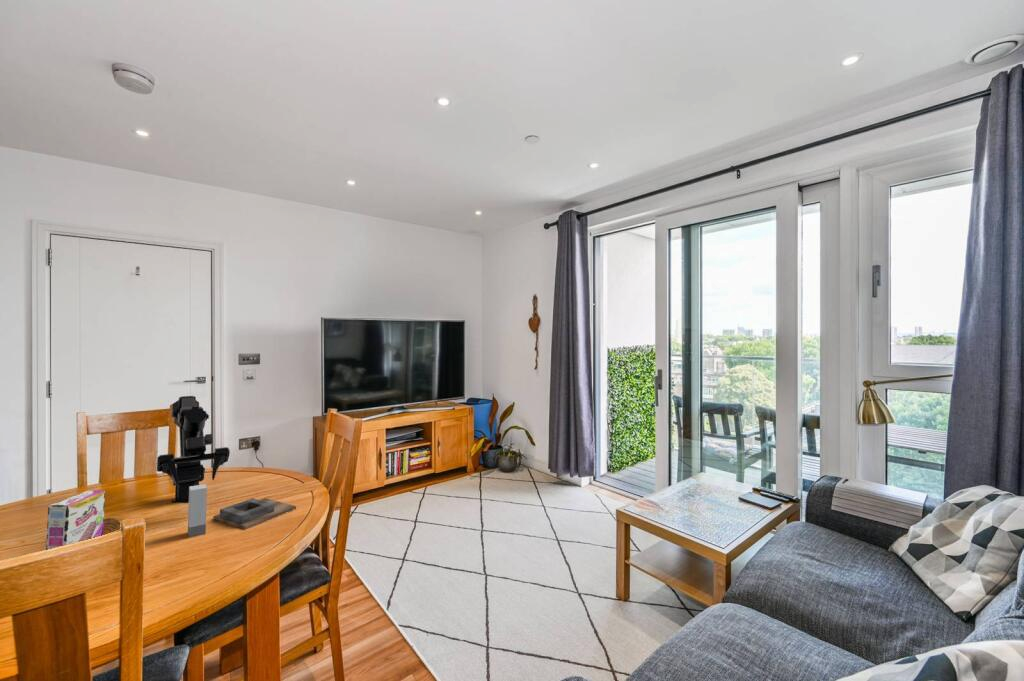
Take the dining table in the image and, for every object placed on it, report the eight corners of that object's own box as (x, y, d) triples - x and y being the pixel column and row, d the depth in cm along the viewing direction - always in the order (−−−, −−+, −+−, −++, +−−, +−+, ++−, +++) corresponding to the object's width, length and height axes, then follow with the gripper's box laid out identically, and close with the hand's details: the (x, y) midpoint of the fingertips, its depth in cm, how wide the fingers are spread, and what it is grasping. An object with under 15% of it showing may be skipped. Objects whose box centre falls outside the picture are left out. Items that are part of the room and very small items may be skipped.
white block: (187, 532, 128) (189, 486, 128) (204, 529, 131) (205, 483, 131) (189, 537, 125) (190, 490, 125) (205, 533, 128) (206, 487, 128)
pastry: (114, 539, 123) (114, 526, 123) (82, 545, 120) (82, 532, 120) (122, 527, 131) (122, 514, 131) (92, 532, 127) (92, 519, 127)
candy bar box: (65, 571, 107) (67, 505, 106) (44, 571, 106) (45, 505, 106) (104, 548, 118) (106, 489, 118) (85, 549, 117) (86, 489, 117)
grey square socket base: (213, 519, 138) (213, 508, 138) (264, 500, 155) (265, 491, 155) (245, 529, 132) (245, 518, 132) (296, 509, 148) (296, 499, 148)
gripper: (158, 429, 132) (158, 474, 124) (229, 423, 144) (234, 463, 136) (156, 449, 138) (156, 493, 130) (225, 441, 150) (229, 481, 142)
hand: (195, 482), depth 134 cm, fingers open, 9 cm apart
